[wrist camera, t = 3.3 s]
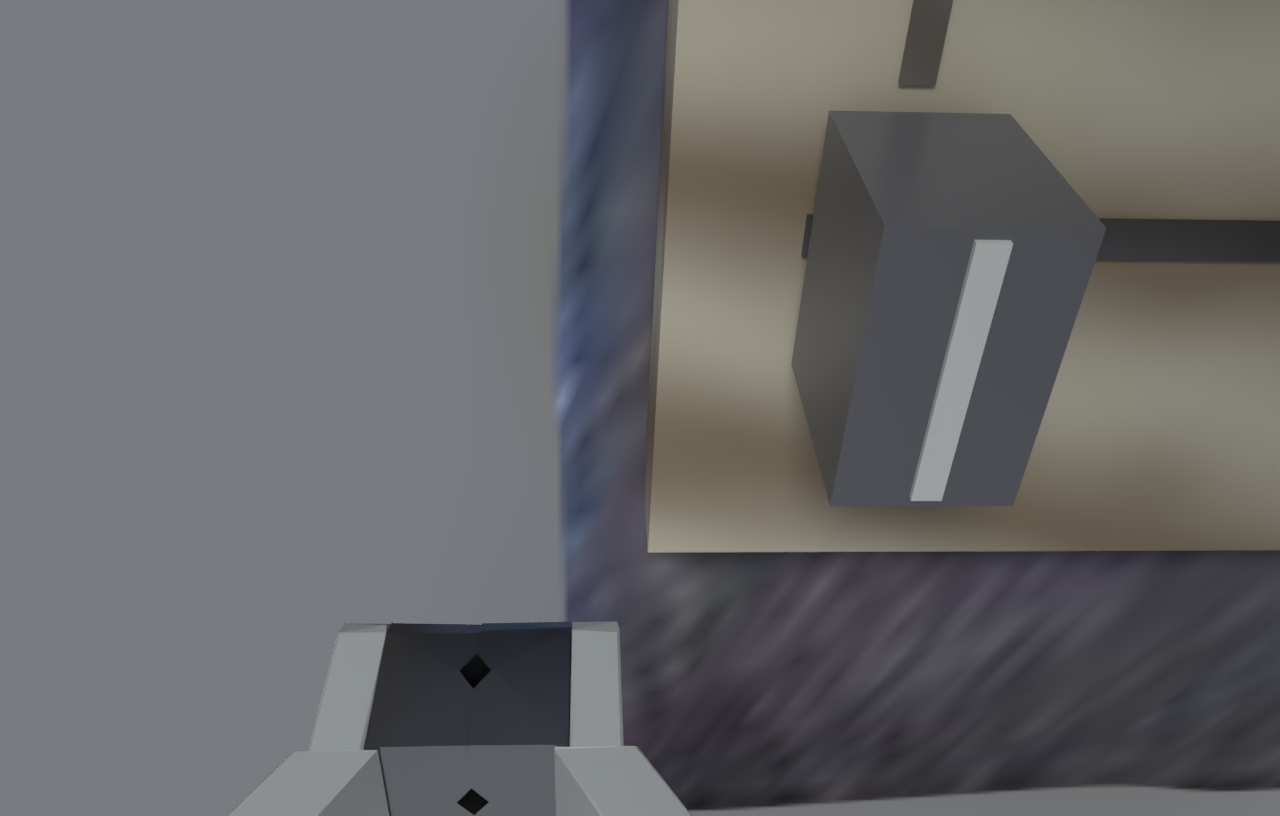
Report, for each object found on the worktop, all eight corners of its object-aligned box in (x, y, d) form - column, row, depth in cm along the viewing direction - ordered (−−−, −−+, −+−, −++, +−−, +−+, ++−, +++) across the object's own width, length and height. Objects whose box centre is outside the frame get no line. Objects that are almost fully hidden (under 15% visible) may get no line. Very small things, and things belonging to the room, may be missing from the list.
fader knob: (829, 110, 17) (886, 228, 14) (1010, 113, 17) (1109, 231, 14) (791, 364, 20) (831, 510, 17) (945, 365, 20) (1015, 510, 17)
